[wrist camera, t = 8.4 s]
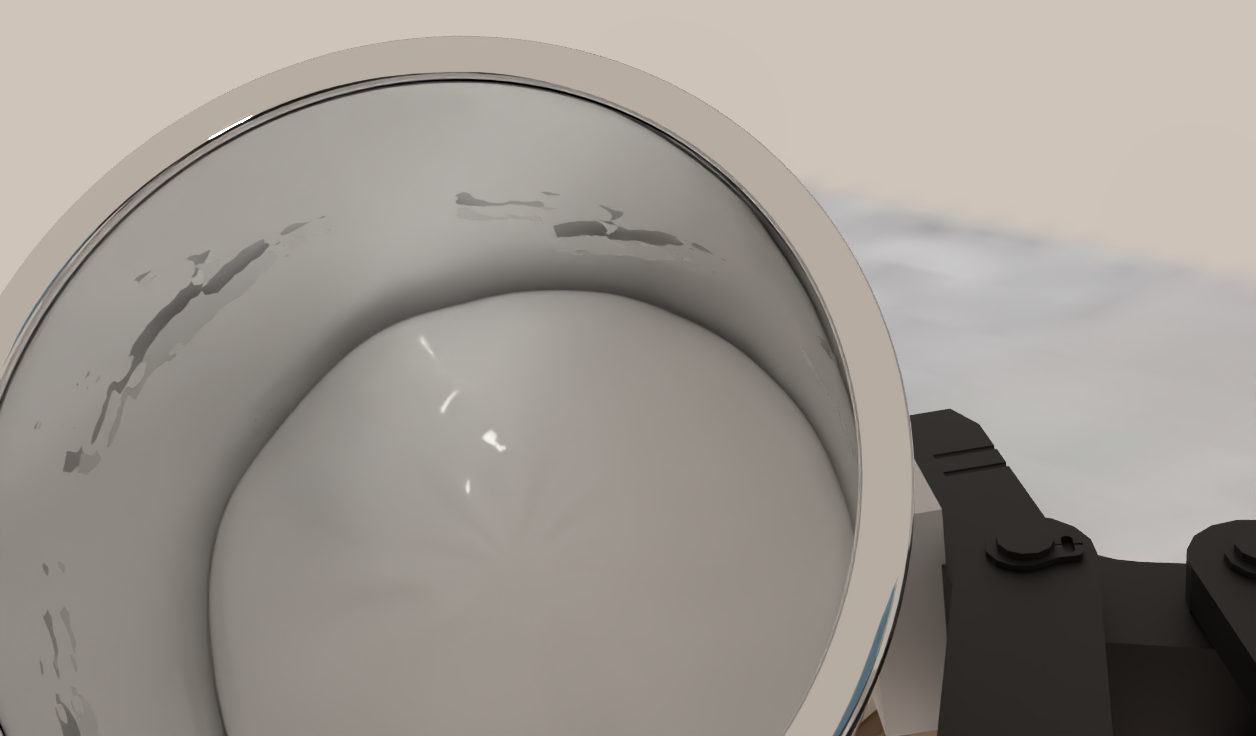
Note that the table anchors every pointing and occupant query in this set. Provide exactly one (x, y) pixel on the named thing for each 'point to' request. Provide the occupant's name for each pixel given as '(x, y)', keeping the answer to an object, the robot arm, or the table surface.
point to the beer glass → (448, 420)
